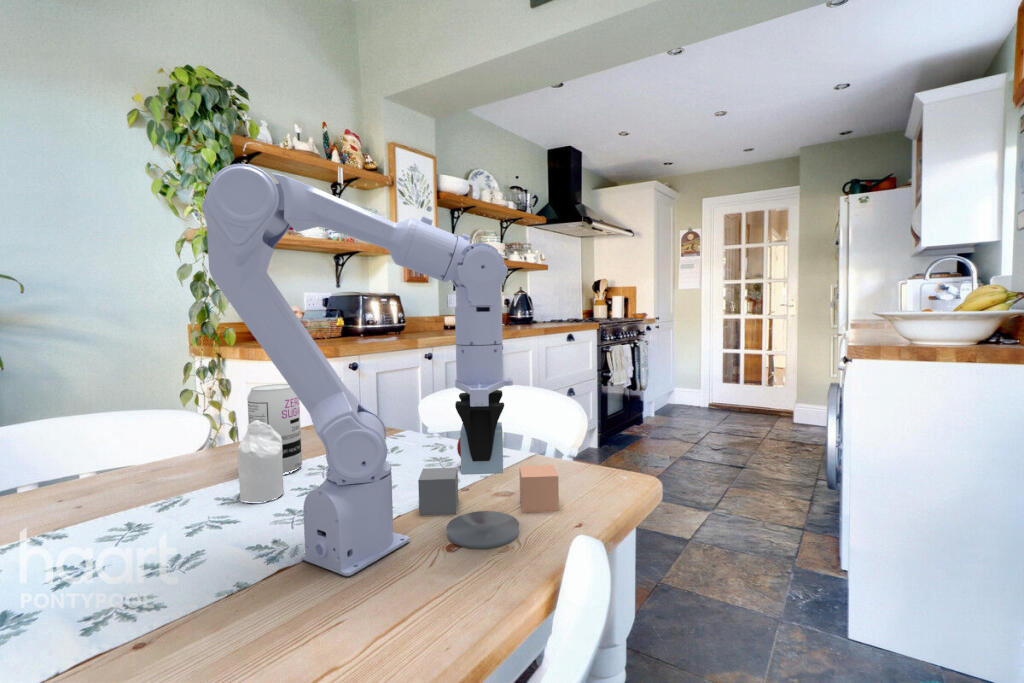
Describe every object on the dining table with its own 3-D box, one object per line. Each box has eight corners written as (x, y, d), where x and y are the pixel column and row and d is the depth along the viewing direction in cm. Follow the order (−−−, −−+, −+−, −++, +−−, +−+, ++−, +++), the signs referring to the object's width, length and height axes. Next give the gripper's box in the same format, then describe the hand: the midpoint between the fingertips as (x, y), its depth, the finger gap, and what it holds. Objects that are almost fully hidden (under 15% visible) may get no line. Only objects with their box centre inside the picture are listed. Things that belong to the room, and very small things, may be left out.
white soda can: (255, 466, 90) (251, 385, 89) (304, 461, 93) (301, 382, 92) (246, 480, 83) (241, 391, 82) (299, 475, 85) (296, 388, 84)
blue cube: (503, 473, 59) (502, 432, 59) (461, 474, 59) (460, 433, 58) (502, 460, 64) (501, 422, 64) (463, 461, 64) (462, 423, 63)
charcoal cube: (456, 514, 67) (455, 478, 67) (419, 516, 67) (418, 480, 67) (458, 500, 72) (457, 467, 72) (423, 502, 72) (423, 468, 72)
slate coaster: (493, 555, 56) (493, 548, 56) (431, 538, 60) (431, 531, 60) (532, 525, 63) (532, 519, 63) (474, 511, 68) (474, 506, 68)
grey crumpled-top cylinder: (279, 413, 78) (282, 420, 73) (283, 488, 79) (285, 499, 74) (236, 418, 75) (235, 425, 70) (240, 495, 76) (239, 507, 71)
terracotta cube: (558, 511, 68) (558, 476, 68) (522, 513, 68) (521, 477, 67) (553, 498, 73) (553, 464, 72) (520, 499, 73) (519, 466, 72)
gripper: (515, 347, 53) (517, 471, 54) (509, 340, 68) (510, 437, 69) (449, 349, 53) (452, 473, 54) (457, 341, 68) (460, 439, 68)
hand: (481, 453), depth 61 cm, fingers closed on blue cube, 5 cm apart
